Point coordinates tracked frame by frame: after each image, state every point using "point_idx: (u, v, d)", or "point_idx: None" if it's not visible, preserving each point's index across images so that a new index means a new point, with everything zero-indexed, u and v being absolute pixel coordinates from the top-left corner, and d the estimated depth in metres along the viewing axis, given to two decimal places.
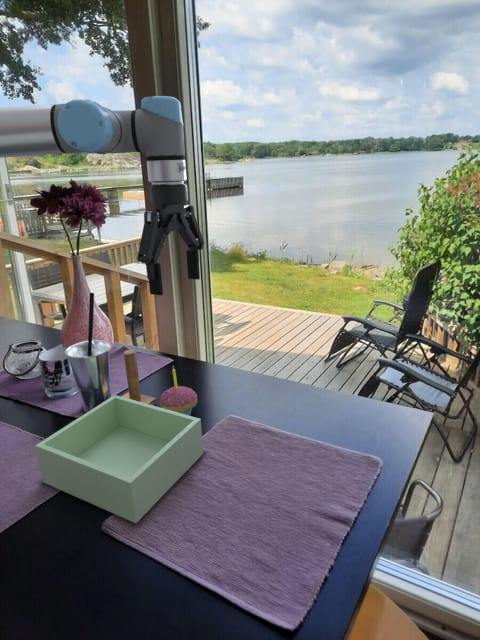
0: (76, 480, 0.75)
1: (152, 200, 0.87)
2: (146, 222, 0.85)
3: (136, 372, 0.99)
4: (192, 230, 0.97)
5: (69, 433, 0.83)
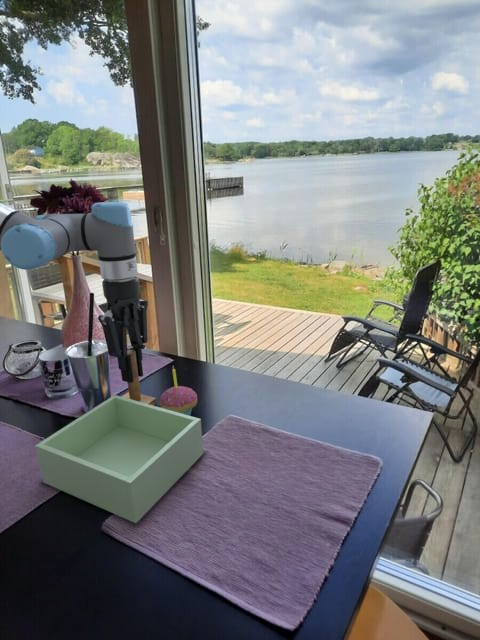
0: (76, 480, 0.75)
1: (104, 295, 0.92)
2: (103, 325, 0.91)
3: (136, 372, 0.99)
4: (139, 324, 1.00)
5: (69, 433, 0.83)
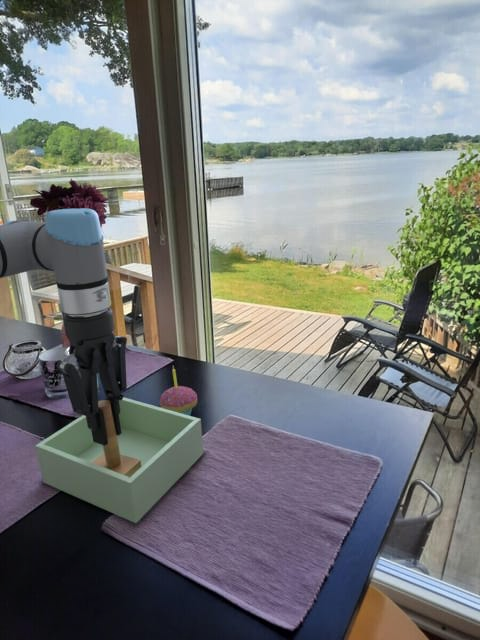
0: (76, 480, 0.75)
1: (66, 334, 0.68)
2: (64, 375, 0.68)
3: (112, 429, 0.76)
4: (116, 368, 0.77)
5: (69, 433, 0.83)
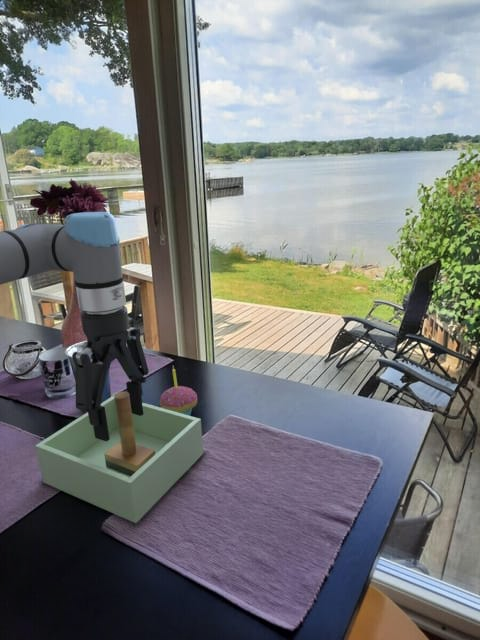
0: (76, 480, 0.75)
1: (83, 330, 0.72)
2: (77, 366, 0.71)
3: (130, 420, 0.79)
4: (135, 356, 0.82)
5: (69, 433, 0.83)
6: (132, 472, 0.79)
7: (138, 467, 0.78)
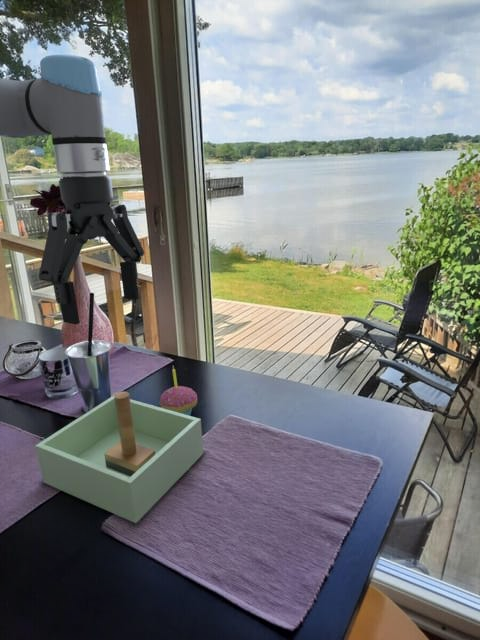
0: (76, 480, 0.75)
1: (62, 198, 0.65)
2: (51, 228, 0.63)
3: (130, 420, 0.79)
4: (126, 237, 0.76)
5: (69, 433, 0.83)
6: (132, 472, 0.79)
7: (138, 467, 0.78)
